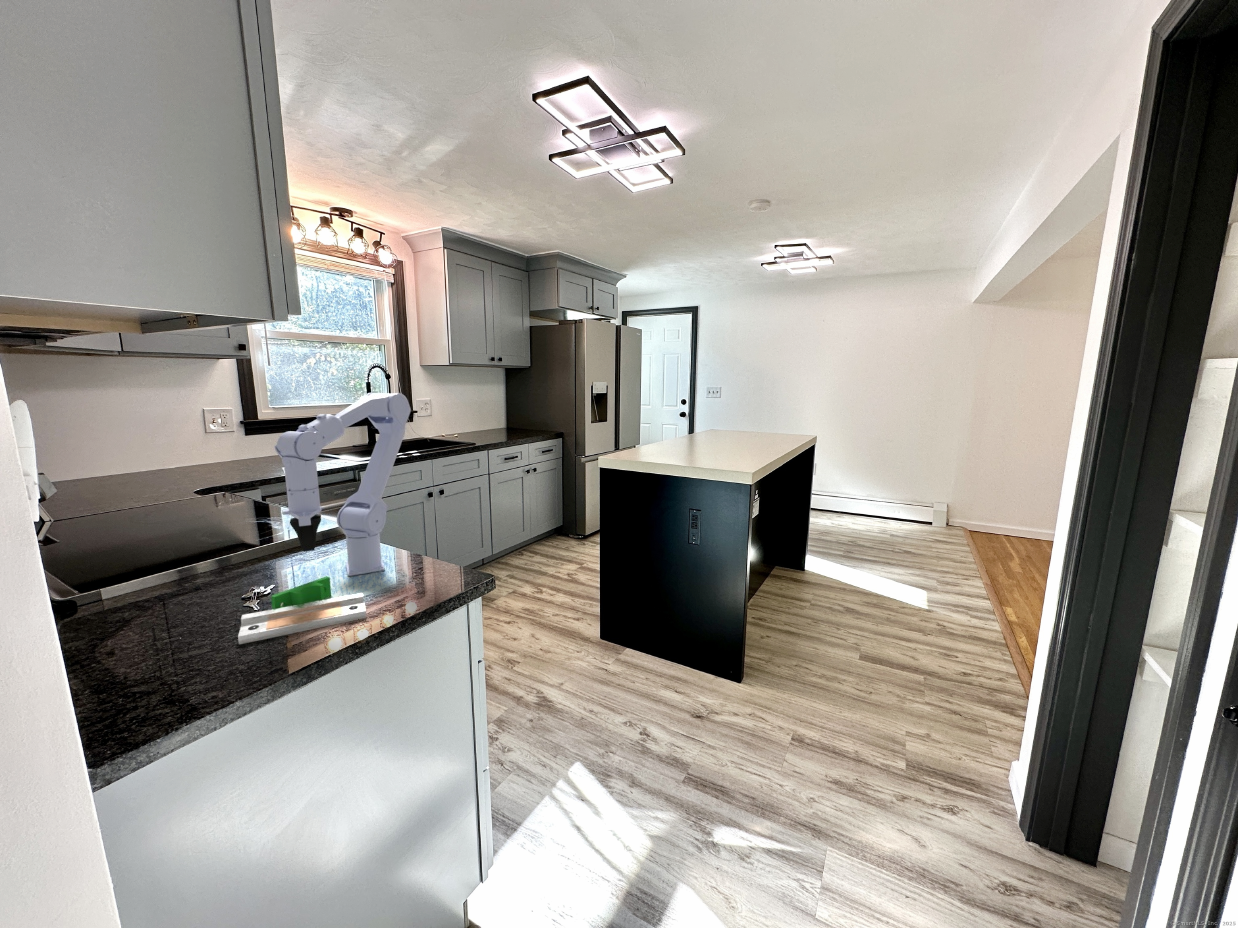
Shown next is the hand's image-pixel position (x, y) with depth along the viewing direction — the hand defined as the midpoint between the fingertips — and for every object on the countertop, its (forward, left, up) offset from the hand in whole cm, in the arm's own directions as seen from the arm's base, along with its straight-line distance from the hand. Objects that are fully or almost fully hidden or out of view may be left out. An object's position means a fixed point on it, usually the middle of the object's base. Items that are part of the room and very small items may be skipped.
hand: (308, 549), depth 108 cm
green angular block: (+9, -1, -10) cm, 13 cm away
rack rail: (+16, -1, -9) cm, 19 cm away
